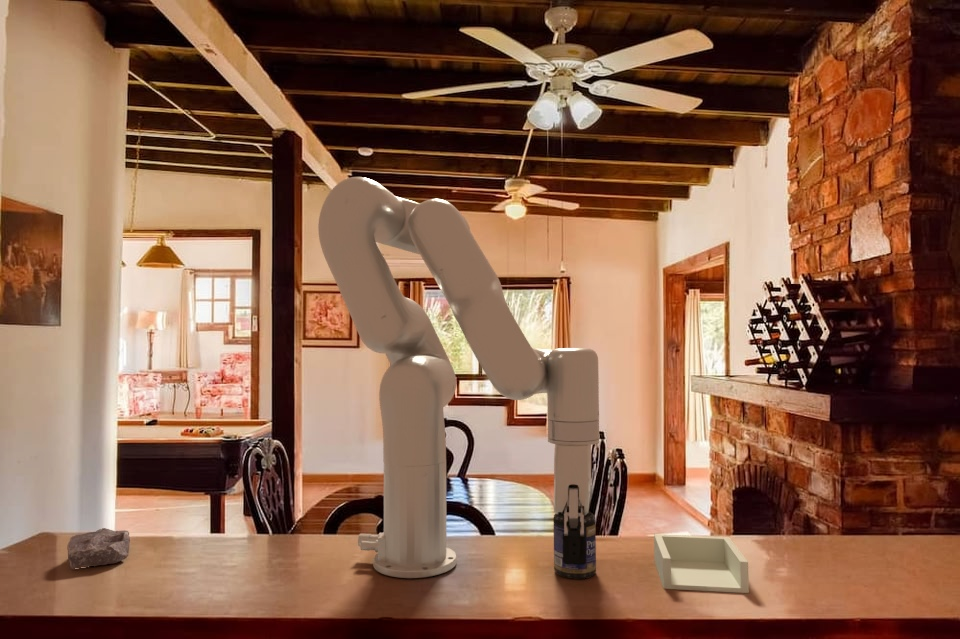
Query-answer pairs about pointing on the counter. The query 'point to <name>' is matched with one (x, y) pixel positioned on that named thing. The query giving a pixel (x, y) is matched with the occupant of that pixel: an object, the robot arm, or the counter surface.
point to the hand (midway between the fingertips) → (574, 554)
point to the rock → (98, 548)
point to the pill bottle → (590, 532)
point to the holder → (700, 563)
